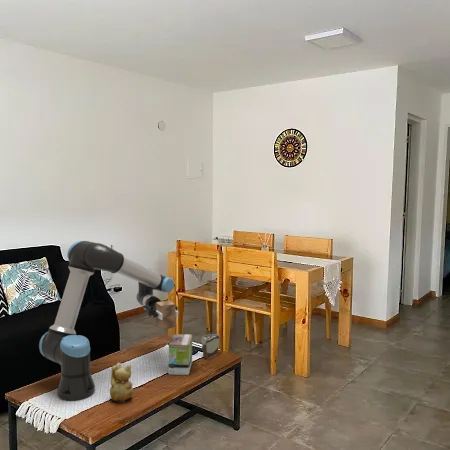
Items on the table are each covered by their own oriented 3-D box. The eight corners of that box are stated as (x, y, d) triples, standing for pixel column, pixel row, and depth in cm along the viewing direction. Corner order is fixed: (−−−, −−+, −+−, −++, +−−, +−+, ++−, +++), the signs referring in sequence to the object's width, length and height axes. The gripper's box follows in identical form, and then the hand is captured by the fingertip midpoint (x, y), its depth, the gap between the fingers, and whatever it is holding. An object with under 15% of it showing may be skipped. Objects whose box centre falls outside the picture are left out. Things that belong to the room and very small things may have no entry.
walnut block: (161, 329, 215) (161, 305, 214) (156, 325, 221) (155, 302, 220) (175, 327, 218) (175, 303, 217) (169, 323, 224) (169, 300, 223)
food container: (210, 350, 248) (210, 332, 247) (219, 353, 244) (220, 334, 243) (195, 357, 238) (195, 338, 237) (205, 360, 234) (205, 341, 233)
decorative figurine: (135, 395, 196) (134, 361, 195) (129, 405, 188) (129, 369, 187) (112, 394, 197) (112, 360, 196) (106, 404, 189) (105, 368, 187)
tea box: (189, 375, 217) (189, 344, 215) (167, 375, 217) (167, 344, 215) (192, 362, 232) (192, 333, 230) (172, 362, 232) (172, 333, 230)
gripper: (171, 308, 240) (189, 320, 220) (133, 313, 230) (149, 327, 210) (170, 293, 239) (189, 304, 219) (132, 298, 229) (148, 310, 209)
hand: (169, 315), depth 215 cm, fingers closed on walnut block, 7 cm apart
